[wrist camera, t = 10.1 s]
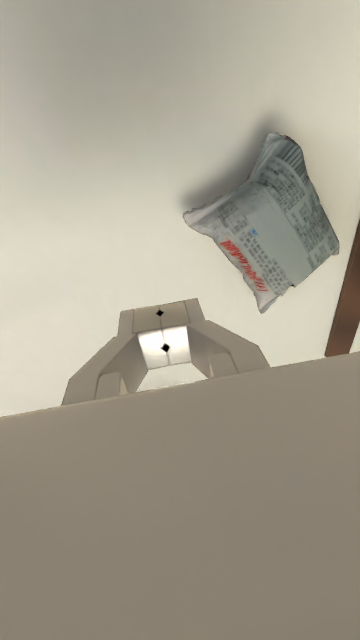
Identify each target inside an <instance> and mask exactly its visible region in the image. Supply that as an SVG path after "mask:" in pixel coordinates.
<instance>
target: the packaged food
mask: <svg viewBox="0 0 360 640" xmlns="http://www.w3.org/2000/svg"><path fill="white" fill-rule="evenodd" d="M183 218H184V221H185V223H186V224H187V225H188V226H189V227H190V228H192V229H194V230H195V231H197V232H199V233H201V234H203V235H207V236H209V237H211V238H213V240H214V242H215V243H216V244H217V246H218V247H219V248H220V249H221V251H222V252H223V253H224V254H225V256H226V257H227V258H228V259H229V260H230V261H231V263H232V264H234V265H235V266H236V267H237V268H238V269H239V270H240V271H241V272H242V273H243V278H244V280H245V282H246V283H247V284H248V286H249V287H250V288H251V290H252V291H253V292H254V295H255V298H256V301H257V306H258V310H259V311H260V313H261V314H262V313H264V312H265V311H266V310H267V309H268V308H269V307H270V305H271V304H273V303H274V302H275V301H276V299H277V298H278V297H279V296H283V295H284V293H285V292H286V291H287V289H288V288H289V287H290V286H294V288H295V287H296V286H297V285H298V284H300V283H301V282H302V281H303V280H305V279H306V278H307V277H308V276H309V275H310V274H311V273H312V272H313V271H314V270H315V269H317V268H318V267H319V266H320V265H321V264H322V263H323V262H324V261H325V260H326V259H327V258H328V257H330V256H331V255H338V254H339V241H338V238H337V236H336V234H335V232H334V230H333V228H332V226H331V224H330V222H329V220H328V218H327V216H326V214H325V212H324V210H323V208H322V206H321V204H320V201H319V197H318V195H317V193H316V191H315V189H314V186H313V184H312V183H311V181H310V179H309V177H308V175H307V171H306V167H305V162H304V157H303V152H302V150H301V147H300V146H299V145H298V144H297V143H296V142H295V141H294V140H292V139H291V138H290V137H288V136H286V135H284V136H281V135H278V133H273V132H269V134H268V135H266V137H265V138H264V140H263V141H262V145H261V151H260V154H259V157H258V159H257V161H256V164H255V166H254V168H253V170H252V172H251V174H250V175H249V176H248V178H247V179H246V181H245V182H244V183H243V184H242V185H240V186H239V187H238V188H236V189H234V190H232V191H230V192H228V193H226V194H224V195H222V196H220V197H218V198H216V199H214V200H212V201H210V202H208V203H206V204H204V205H202V206H201V207H199V208H193V209H192V210H191V211H186V212H185V213H183ZM282 292H283V293H282Z"/></svg>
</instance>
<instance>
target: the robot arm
mask: <svg viewBox="0 0 360 640" xmlns="http://www.w3.org/2000/svg"><path fill="white" fill-rule="evenodd" d="M189 362H191V363H192V364H193V365H194V366H195V367H196V368H197V369H198V370H200V371H201V372H202V373H203V374H204V375H205V376H206V377H207V378H208V379H206V380H200V381H195V382H190V383H184V384H179V385H173V386H168V387H162V388H157V389H152V390H146V391H141V392H136V391H137V389H138V387H139V386H140V384H141V382H142V380H143V379H144V377H145V375H146V374H147V372H148V370H151V369H155V368H160V367H165V366H170V365H176V364H183V363H189ZM0 640H360V351H359V352H354V353H348V354H343V355H337V356H332V357H326V358H321V359H316V360H310V361H305V362H299V363H294V364H288V365H283V366H277V367H272V368H271V367H270V366H269V364H268V362H267V360H266V359H265V357H264V355H263V353H262V352H261V350H260V348H259V346H258V345H256V344H254V343H252V342H250V341H248V340H246V339H244V338H242V337H240V336H238V335H237V334H235V333H233V332H231V331H229V330H227V329H225V328H223V327H221V326H219V325H217V324H216V323H214V322H212V321H210V320H206V321H205V318H204V316H203V313H202V310H201V307H200V304H199V302H198V299H197V298H193V299H188V300H183V301H178V302H173V303H168V304H163V305H156V306H149V307H143V308H136V309H130V310H124V311H121V313H120V319H119V327H118V334H117V336H116V337H113V338H112V339H111V340H110V341H109V342H108V343H107V344H106V345H105V346H104V347H103V348H102V349H100V350H99V351H98V352H97V353H96V354H95V355H94V356H93V357H92V358H91V359H90V360H89V361H88V362H87V363H86V364H85V365H84V366H83V367H82V368H81V369H80V370H79V371H78V372H77V373H76V374H74V375H73V376H72V377H71V378H70V379H69V382H68V385H67V388H66V392H65V395H64V398H63V401H62V404H61V406H58V407H53V408H47V409H42V410H36V411H31V412H25V413H20V414H14V415H9V416H3V417H0Z"/></svg>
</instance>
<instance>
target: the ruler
mask: <svg viewBox="0 0 360 640" xmlns="http://www.w3.org/2000/svg"><path fill="white" fill-rule="evenodd" d="M359 322H360V221H359V225H358V229H357V233H356V237H355V241H354V244H353V248H352V252H351V256H350V260H349V264H348V268H347V271H346V275H345V279H344V283H343V287H342V291H341V294H340V298H339V302H338V306H337V310H336V314H335V318H334V321H333V325H332V329H331V333H330V337H329V341H328V344H327V348H326V352H325V357H332V356H337V355H343V354H348V353H349V351H350V348H351V346H352V343H353V340H354V337H355V334H356V331H357V328H358V325H359Z"/></svg>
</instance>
